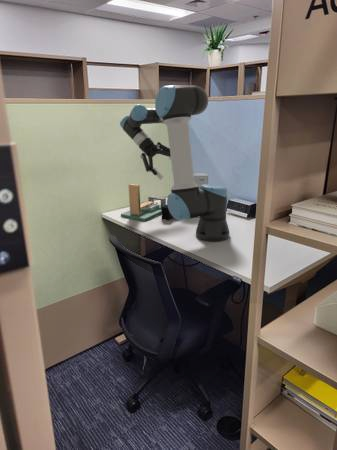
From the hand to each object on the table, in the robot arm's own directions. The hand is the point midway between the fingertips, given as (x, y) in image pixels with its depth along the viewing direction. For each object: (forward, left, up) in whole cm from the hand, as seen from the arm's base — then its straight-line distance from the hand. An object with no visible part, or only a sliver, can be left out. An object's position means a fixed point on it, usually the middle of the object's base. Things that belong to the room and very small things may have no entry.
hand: (170, 172), depth 183 cm
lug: (+9, +8, -21) cm, 24 cm away
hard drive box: (+6, -13, -23) cm, 27 cm away
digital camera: (-8, -1, -23) cm, 24 cm away
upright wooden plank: (-3, +15, -21) cm, 26 cm away
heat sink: (+2, +12, -21) cm, 25 cm away
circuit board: (0, +13, -23) cm, 26 cm away
